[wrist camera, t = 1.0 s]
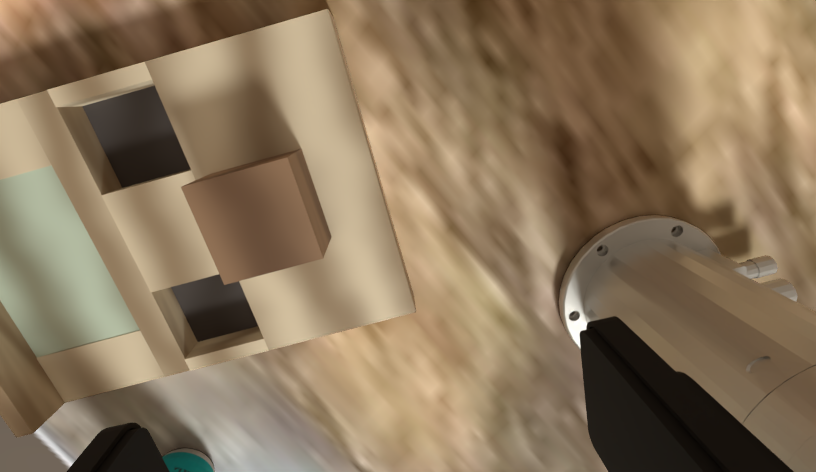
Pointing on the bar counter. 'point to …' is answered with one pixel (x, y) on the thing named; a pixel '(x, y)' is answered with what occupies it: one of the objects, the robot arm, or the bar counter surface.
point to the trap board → (179, 217)
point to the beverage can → (187, 461)
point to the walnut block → (260, 216)
